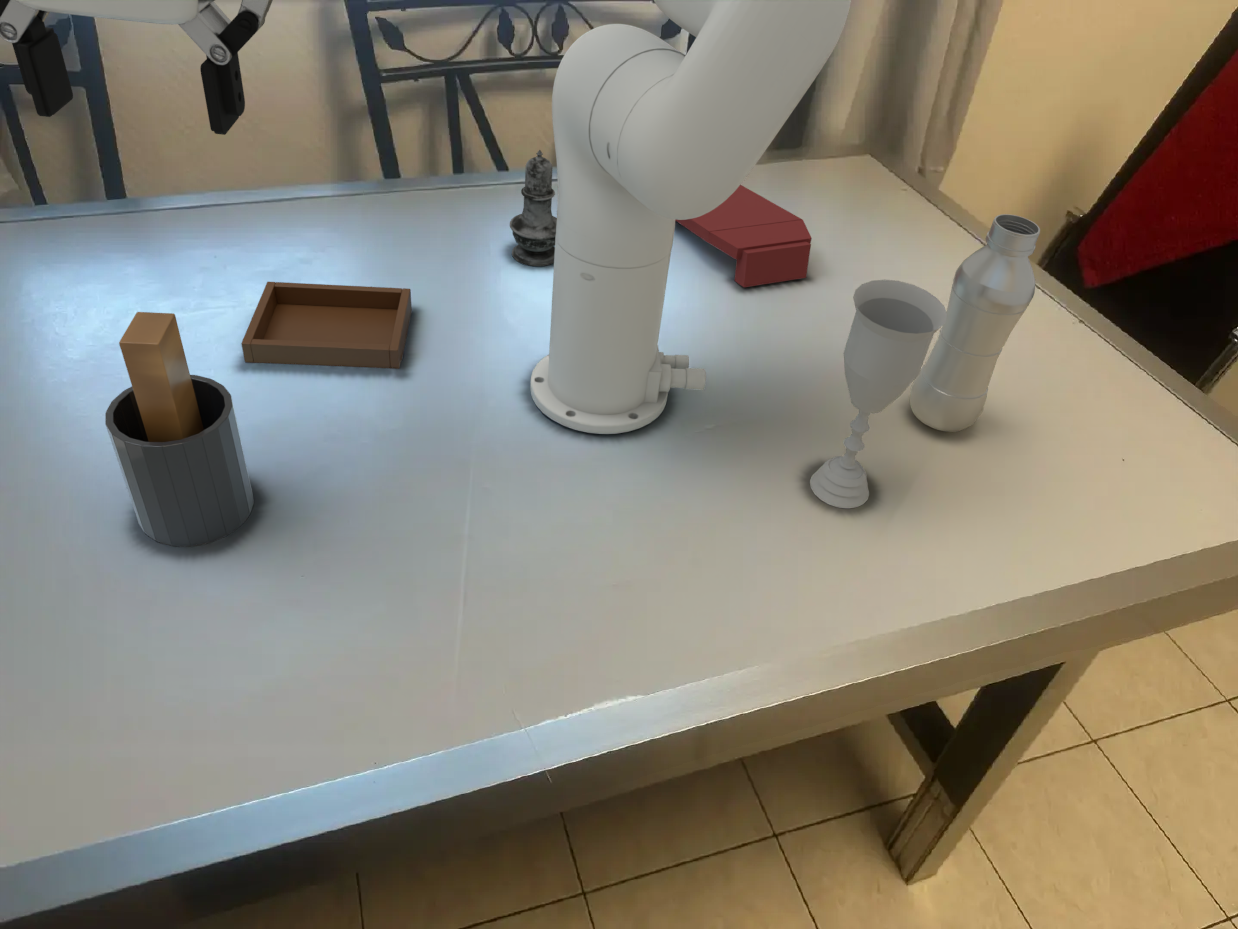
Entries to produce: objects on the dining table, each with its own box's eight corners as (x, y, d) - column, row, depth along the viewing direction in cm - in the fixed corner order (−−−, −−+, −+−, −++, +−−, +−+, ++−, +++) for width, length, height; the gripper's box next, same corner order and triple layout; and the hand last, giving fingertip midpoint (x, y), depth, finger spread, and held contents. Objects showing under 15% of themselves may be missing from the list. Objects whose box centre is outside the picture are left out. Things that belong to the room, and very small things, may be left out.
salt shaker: (572, 253, 107) (579, 149, 99) (541, 273, 103) (546, 167, 95) (529, 236, 109) (533, 133, 101) (498, 255, 105) (499, 149, 97)
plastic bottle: (925, 389, 93) (998, 198, 80) (987, 423, 90) (1073, 230, 77) (889, 414, 89) (959, 218, 76) (952, 451, 86) (1037, 253, 73)
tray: (411, 310, 95) (410, 288, 93) (399, 373, 87) (398, 350, 85) (271, 304, 94) (267, 281, 92) (245, 367, 86) (240, 343, 84)
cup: (264, 479, 75) (244, 376, 69) (240, 553, 69) (215, 448, 63) (159, 476, 74) (127, 371, 68) (125, 550, 68) (87, 444, 62)
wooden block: (219, 491, 73) (175, 312, 62) (207, 524, 70) (158, 344, 60) (187, 490, 73) (136, 311, 62) (173, 524, 70) (118, 342, 59)
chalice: (879, 525, 78) (950, 341, 66) (797, 508, 78) (852, 323, 67) (879, 468, 83) (944, 289, 71) (802, 452, 84) (853, 272, 72)
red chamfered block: (630, 217, 122) (727, 289, 103) (631, 179, 119) (732, 246, 101) (713, 207, 127) (820, 275, 108) (716, 170, 124) (827, 232, 105)
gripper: (272, -229, 48) (308, 108, 59) (-86, -275, 47) (19, 78, 58) (225, -212, 42) (275, 158, 54) (-184, -263, 41) (-46, 126, 52)
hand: (142, 116), depth 56 cm, fingers open, 9 cm apart
